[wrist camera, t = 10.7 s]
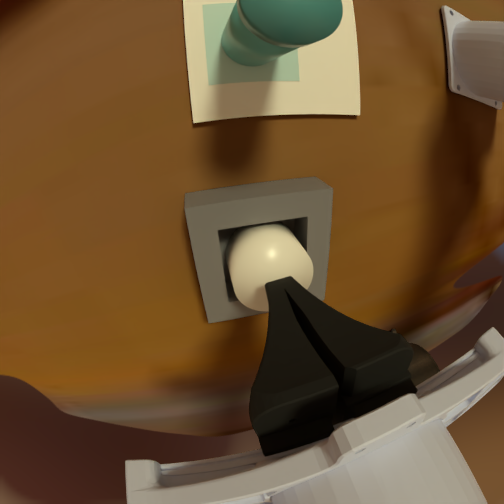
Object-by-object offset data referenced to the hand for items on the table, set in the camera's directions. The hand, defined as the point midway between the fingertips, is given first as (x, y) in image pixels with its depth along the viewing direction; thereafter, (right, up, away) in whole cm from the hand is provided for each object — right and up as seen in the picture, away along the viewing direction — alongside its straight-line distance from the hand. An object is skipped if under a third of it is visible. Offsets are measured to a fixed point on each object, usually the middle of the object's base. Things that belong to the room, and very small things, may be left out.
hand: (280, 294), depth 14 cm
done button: (-1, +2, +4) cm, 4 cm away
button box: (-1, +3, +5) cm, 5 cm away
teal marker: (-1, +13, -2) cm, 14 cm away
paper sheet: (0, +16, -3) cm, 16 cm away
